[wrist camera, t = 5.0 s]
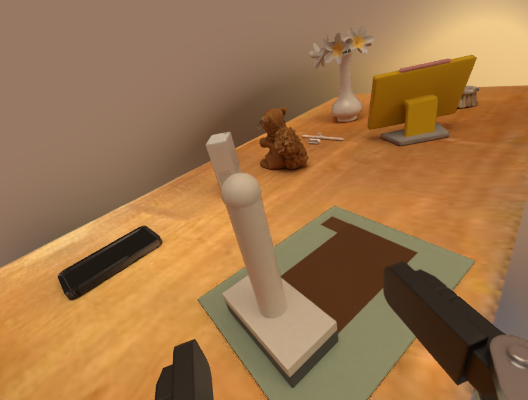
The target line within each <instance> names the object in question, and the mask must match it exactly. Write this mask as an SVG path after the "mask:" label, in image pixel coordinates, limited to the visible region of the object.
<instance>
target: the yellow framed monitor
mask: <svg viewBox="0 0 528 400" xmlns="http://www.w3.org/2000/svg"><path fill="white" fill-rule="evenodd" d="M476 59H477V58H476V57H475V56H473V55H469V56H464V57H460V58H455V59H444V60H439V61H434V62H430V63H426V64H420V65H416V66H412V67H406V68H402V69H400V70H399V71H394V72H390V73H385V74H381V75H376V76H374V77H373V84H372V93H371V101H370V109H369V118H368V128H369V130H372V129H377V128H382V127H387V126H392V125H397V124H403V123H405V129H404V130H399V131H394V132H389V133H383V134H381V138H383V139H385V140H388V141H390V142H392V143H395V144H397V145H399V146H402V145H408V144H413V143H418V142H424V141H429V140H435V139H440V138H445V137H448V136H449V132H448V131H447V130H446V129H445V128H443V127H442V126H441V125H440V124H439V123H436V117H438V116H444V115H449V114H454V113H455V112H456V109H457V107H458V104H459V102H460V99H461V97H462V94H463V92H464V89H465V86H466V84H467V81H468V79H469V76H470V74H471V71H472V69H473V66H474V64H475V61H476Z"/></svg>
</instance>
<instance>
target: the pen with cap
mask: <svg viewBox="0 0 528 400" xmlns="http://www.w3.org/2000/svg"><path fill="white" fill-rule="evenodd" d="M316 134H317V133H316ZM316 134H315V135H316ZM320 134H321V133H318V135H319V136H310V135H302V137H305V138H306V137H307V138H310V139H308V140H307V142H308V143H315V144H319V143H320V142H321V141H320V140H319V139H329V140H339V141H340V140H344V139H343V138H334V137H323V135H320ZM311 138H314V139H311ZM315 138H318V139H315Z"/></svg>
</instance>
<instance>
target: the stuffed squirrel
mask: <svg viewBox="0 0 528 400" xmlns="http://www.w3.org/2000/svg"><path fill="white" fill-rule="evenodd" d="M286 110H287V108H285V107H283V108H281V109H277V108H274V109H269V110H267V111H266V112H265V113H264V115H263V117H262V120H261V122H260V123H259V124H260V125H261V123H262V126H263V128H264V129H265V131H266V132H267V134H268V135H267V137H266V138H261V139H260V145H261V147H263V148H265V147H268V148H270V151H269V153H268V154H267V155H266V156H265V157H266V159H263V160H262V161H261V162H260V165H261V166H262V167H265V168H268V169H279V168H284V167H287V168H288V169H293V170H294V169H296V168H299V167H301V166H303V165H305V164H306V163H307V159H308V158H309V157H308V156H307V152H306V149H305V147H304V145H303V144H302V143H301V142H300V139H298V138H299V136H298V135H297V136H298V137H297V136H296V135H295V132H296V131H295V130H293V129H292V128H291V127H290V128H288V127H286V125H285V121H284V116H285V114H286ZM258 126H259V125H258ZM257 129H258V128H257ZM259 130H260V126H259Z"/></svg>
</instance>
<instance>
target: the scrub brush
mask: <svg viewBox="0 0 528 400" xmlns="http://www.w3.org/2000/svg"><path fill="white" fill-rule="evenodd" d="M221 195H222V199H223V202H224V203H225V205H226V207H227V211H228V214H229V217H230V220H231V223H232V226H233V229H234V232H235V235H236V238H237V241H238V245H239V248H240V251H241V254H242V257H243V260H244V263H245V266H246V269H247V272H248V276H246V277H245V278H243V279H242V280H240V281H239V282H238V283H236V284H235V285H233V286H232V287H231V288H229V289H228V290H226V291H225V292H224V293H222V295H223V298H224V300H225V303H226V305H227V307H228V310H229V312H230V313H231V314H232V315H233V316H234V318H235V319H236V320H237V321H238V323H239V324H240V325H241V326H242V327H243V329H244V330H245V331H246V332H247V333H248V335H249V336H250V337H251V338H252V340H253V341H254V342H255V343H256V344H257V346H258V347H259V348H260V349H261V350H262V352H263V353H264V354H265V355H266V357H267V358H268V359H269V360H270V361H271V363H272V364H273V365H274V366H275V368H276V369H277V370H278V371H279V372H280V374H281V375H282V376H283V377H284V378H285V380H286V381H287V382H288V383H289V385H290V386H291V387H292V388H294V387H295V386H296V385H297V384H298V383H299V382H300V381H301V380H302V379H303V377H304V376H305V375H306V374H307V373H308V372H309V371H310V370H311V369H312V368H313V367H314V366H315V365H316V364H317V363H318V362H319V361H320V360H321V359H322V358H323V357H324V356H325V355H326V354H327V353H328V352H329V350H330V349H331V348H332V347H333V346H334V345H335V344H336V343H337V342H338V331H337V322H336V321H335V320H334V319H332V318H331V317H330V316H329V315H327V314H326V313H325V312H324V311H322V310H321V309H320V308H319V307H317V306H316V305H315V304H314V303H312V302H311V301H310V300H309V299H307V298H306V297H305V296H303V295H302V294H301V293H300V292H298V291H297V290H296V289H295V288H293V287H292V286H291V285H290V284H288V283H287V282H286V281H285V280H283V279H282V278H281V277H280V272H279V268H278V264H277V260H276V256H275V252H274V247H273V243H272V239H271V235H270V231H269V227H268V222H267V218H266V214H265V210H264V206H263V202H262V198H261V188H260V185H259V183H258V181H257V180H256V179H255V178H254V177H253V176H251V175H249V174H247V173H236V174H233V175H231V176H230V177H228V178H227V179H226V180H225V182H224V184H223V186H222V190H221Z"/></svg>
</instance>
